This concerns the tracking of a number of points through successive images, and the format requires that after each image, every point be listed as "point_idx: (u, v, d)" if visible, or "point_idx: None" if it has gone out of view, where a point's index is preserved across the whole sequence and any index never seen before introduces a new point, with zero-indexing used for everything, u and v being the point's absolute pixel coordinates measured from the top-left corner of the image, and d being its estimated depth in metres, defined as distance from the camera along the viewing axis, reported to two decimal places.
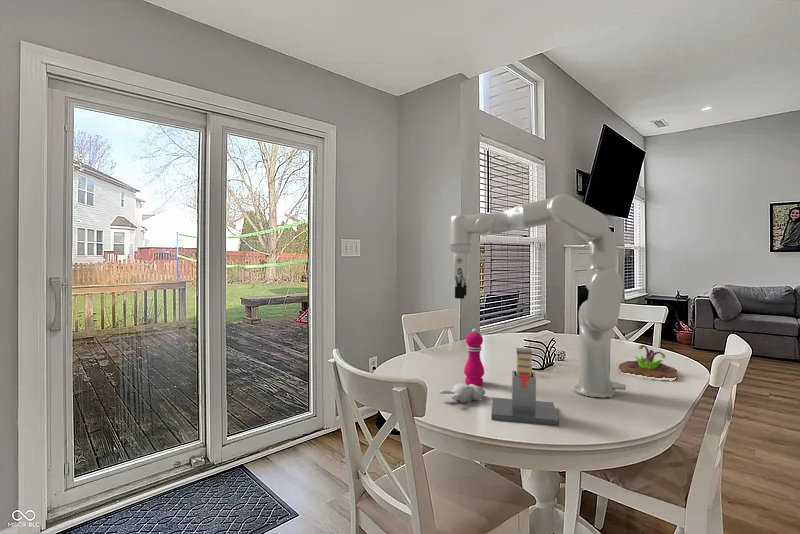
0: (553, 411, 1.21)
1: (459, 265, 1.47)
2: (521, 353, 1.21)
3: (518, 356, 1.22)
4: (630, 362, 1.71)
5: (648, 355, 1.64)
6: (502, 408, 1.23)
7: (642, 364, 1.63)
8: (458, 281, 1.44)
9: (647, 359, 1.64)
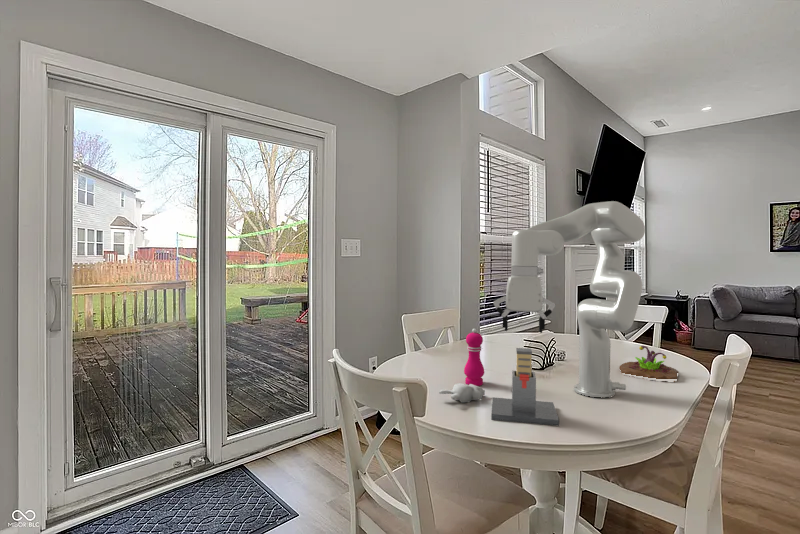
0: (553, 411, 1.21)
1: None
2: (521, 353, 1.21)
3: (518, 356, 1.22)
4: (631, 363, 1.70)
5: (649, 356, 1.63)
6: (502, 408, 1.23)
7: (643, 365, 1.62)
8: (551, 311, 1.21)
9: (648, 360, 1.63)
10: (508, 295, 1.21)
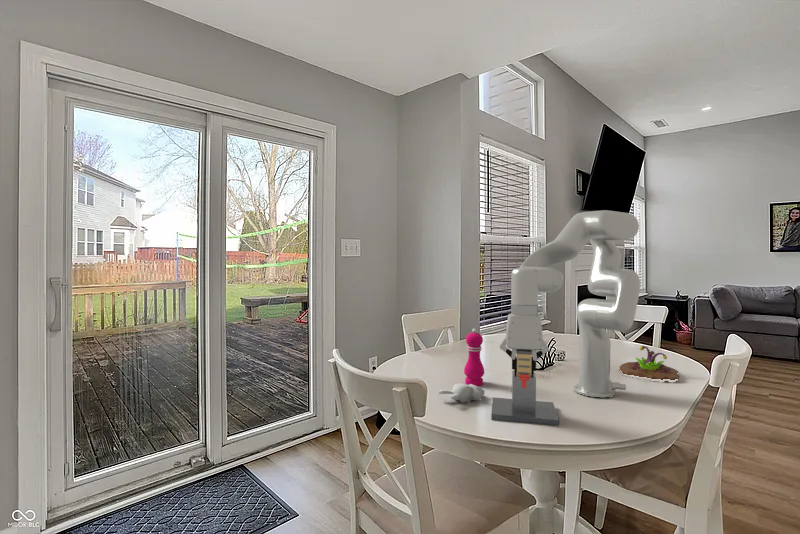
0: (553, 411, 1.21)
1: None
2: (521, 353, 1.21)
3: (518, 356, 1.22)
4: (630, 363, 1.69)
5: (649, 356, 1.62)
6: (502, 408, 1.23)
7: (644, 365, 1.61)
8: None
9: (648, 360, 1.62)
10: (508, 333, 1.22)
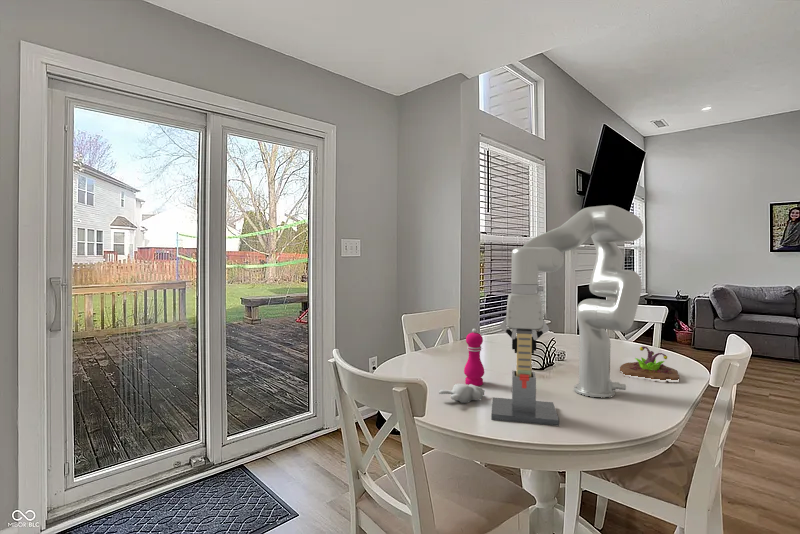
0: (553, 411, 1.21)
1: None
2: (521, 333, 1.21)
3: (518, 336, 1.21)
4: (630, 364, 1.69)
5: (650, 356, 1.62)
6: (502, 408, 1.23)
7: (644, 366, 1.61)
8: (542, 333, 1.22)
9: (649, 360, 1.62)
10: (508, 313, 1.22)
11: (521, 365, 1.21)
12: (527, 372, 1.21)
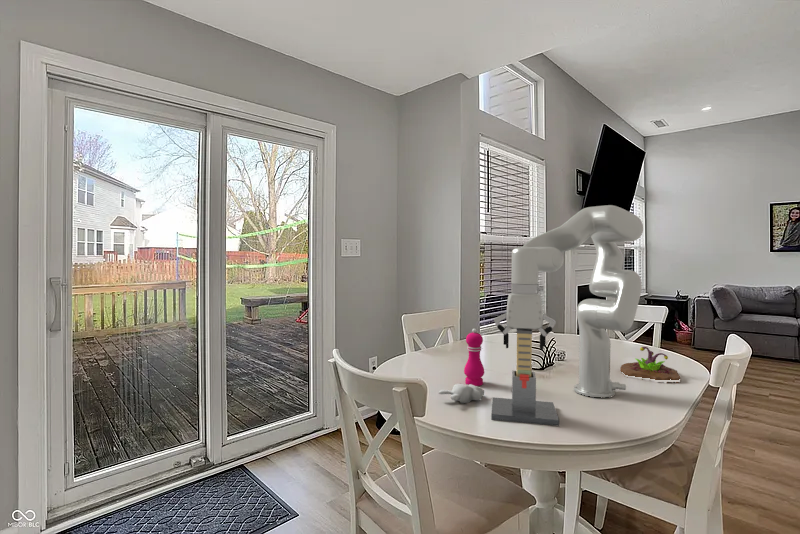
0: (553, 411, 1.21)
1: None
2: (521, 332, 1.21)
3: (518, 336, 1.21)
4: (630, 364, 1.68)
5: (650, 357, 1.61)
6: (502, 408, 1.23)
7: (645, 366, 1.60)
8: (552, 328, 1.21)
9: (649, 361, 1.61)
10: (509, 313, 1.22)
11: (521, 365, 1.21)
12: (527, 372, 1.21)
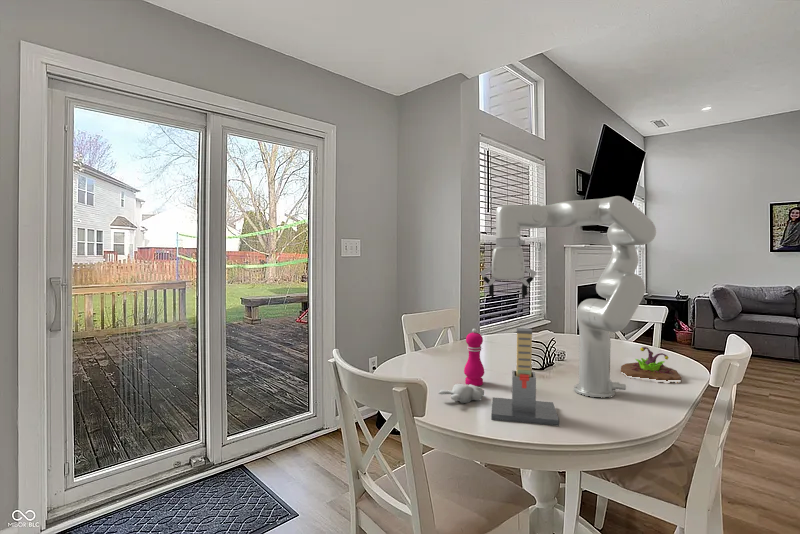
0: (553, 411, 1.21)
1: None
2: (521, 332, 1.21)
3: (518, 336, 1.21)
4: (630, 364, 1.68)
5: (650, 357, 1.61)
6: (502, 408, 1.23)
7: (646, 366, 1.60)
8: None
9: (650, 361, 1.61)
10: (494, 265, 1.33)
11: (521, 365, 1.21)
12: (527, 372, 1.21)
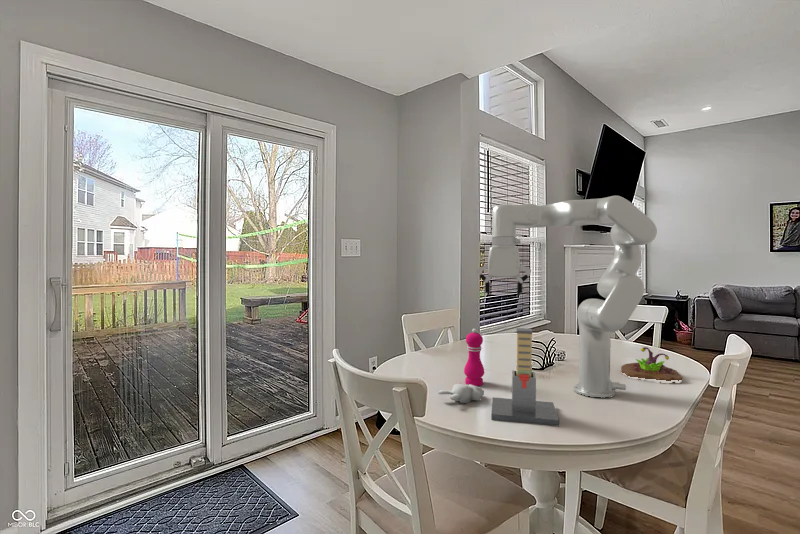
0: (553, 411, 1.21)
1: None
2: (521, 332, 1.21)
3: (518, 336, 1.21)
4: (630, 365, 1.67)
5: (651, 357, 1.61)
6: (502, 408, 1.23)
7: (647, 367, 1.59)
8: None
9: (650, 361, 1.60)
10: (489, 263, 1.37)
11: (521, 365, 1.21)
12: (527, 372, 1.21)
